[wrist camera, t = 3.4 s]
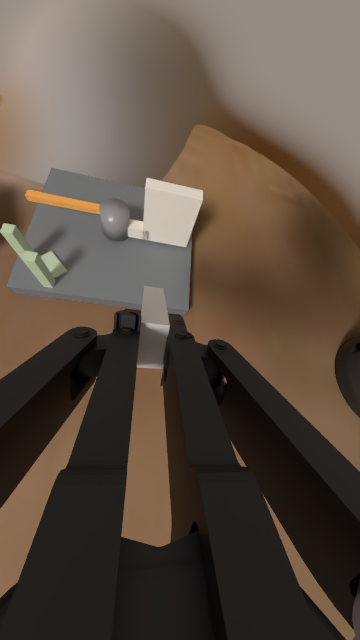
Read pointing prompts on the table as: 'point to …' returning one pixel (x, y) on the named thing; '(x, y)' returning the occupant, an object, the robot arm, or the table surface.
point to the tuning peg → (159, 213)
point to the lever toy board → (94, 251)
